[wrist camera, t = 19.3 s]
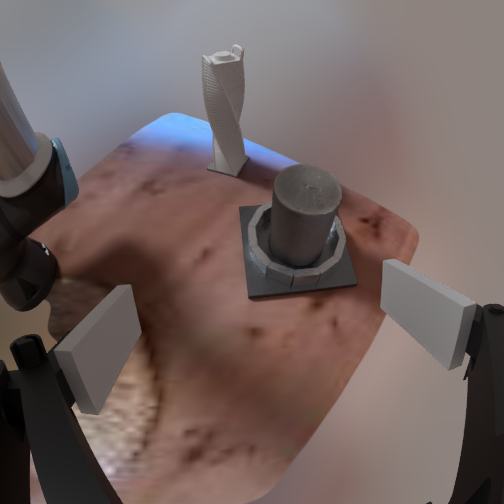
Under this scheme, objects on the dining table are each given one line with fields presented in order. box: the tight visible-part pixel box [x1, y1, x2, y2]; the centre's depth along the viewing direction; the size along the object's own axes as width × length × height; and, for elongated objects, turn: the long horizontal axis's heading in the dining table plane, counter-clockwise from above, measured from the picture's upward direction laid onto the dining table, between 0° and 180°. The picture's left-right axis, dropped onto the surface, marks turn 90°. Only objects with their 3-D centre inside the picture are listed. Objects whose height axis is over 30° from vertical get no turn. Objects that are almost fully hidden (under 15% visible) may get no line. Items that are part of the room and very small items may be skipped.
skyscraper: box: [202, 45, 249, 177], centre depth 51 cm, size 8×8×28 cm
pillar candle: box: [268, 164, 342, 266], centre depth 44 cm, size 10×10×15 cm
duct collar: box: [239, 200, 358, 299], centre depth 50 cm, size 18×18×4 cm
